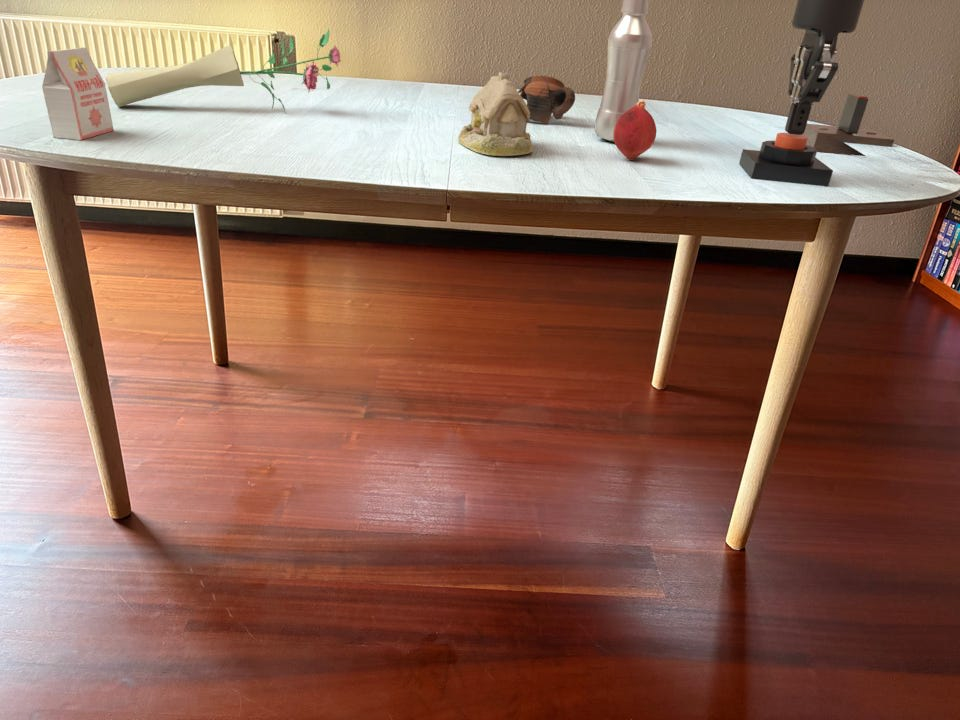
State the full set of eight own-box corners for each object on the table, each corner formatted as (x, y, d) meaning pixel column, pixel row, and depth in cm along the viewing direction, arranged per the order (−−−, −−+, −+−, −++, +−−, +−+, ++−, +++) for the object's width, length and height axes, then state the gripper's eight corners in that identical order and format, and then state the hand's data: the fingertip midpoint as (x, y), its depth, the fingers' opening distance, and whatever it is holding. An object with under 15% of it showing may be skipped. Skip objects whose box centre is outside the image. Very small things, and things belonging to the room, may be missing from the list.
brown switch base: (868, 147, 120) (874, 128, 118) (888, 158, 112) (895, 138, 110) (798, 140, 121) (803, 122, 119) (812, 151, 113) (818, 131, 111)
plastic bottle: (599, 134, 113) (619, -2, 103) (639, 141, 110) (664, 1, 100) (587, 140, 107) (607, -3, 98) (629, 147, 105) (653, 1, 95)
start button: (800, 147, 95) (803, 134, 94) (807, 153, 92) (811, 139, 91) (770, 144, 95) (774, 131, 95) (777, 150, 92) (780, 136, 91)
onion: (628, 166, 94) (639, 104, 90) (601, 156, 98) (610, 97, 94) (659, 163, 97) (670, 103, 93) (631, 154, 101) (641, 96, 97)
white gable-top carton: (53, 137, 86) (33, 50, 81) (87, 127, 92) (71, 46, 87) (80, 140, 85) (62, 52, 80) (113, 130, 91) (98, 48, 86)
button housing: (809, 171, 99) (818, 143, 97) (828, 187, 91) (837, 156, 89) (738, 164, 100) (745, 136, 98) (751, 179, 92) (759, 148, 90)
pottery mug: (501, 121, 120) (509, 75, 120) (531, 141, 128) (539, 98, 128) (558, 113, 113) (566, 64, 113) (587, 135, 120) (595, 89, 120)
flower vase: (142, 151, 112) (349, 106, 119) (122, 144, 101) (353, 94, 107) (115, 76, 109) (330, 34, 116) (92, 60, 98) (332, 13, 104)
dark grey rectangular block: (837, 127, 117) (848, 92, 114) (847, 128, 117) (858, 93, 114) (847, 133, 113) (859, 96, 110) (857, 133, 113) (869, 97, 110)
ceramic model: (450, 135, 104) (453, 64, 99) (520, 137, 106) (527, 67, 102) (472, 157, 92) (477, 77, 87) (551, 158, 95) (560, 81, 90)
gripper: (885, -10, 78) (837, 145, 86) (848, -10, 90) (808, 127, 98) (817, -15, 79) (776, 140, 87) (789, -14, 90) (755, 122, 99)
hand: (793, 133), depth 93 cm, fingers closed
